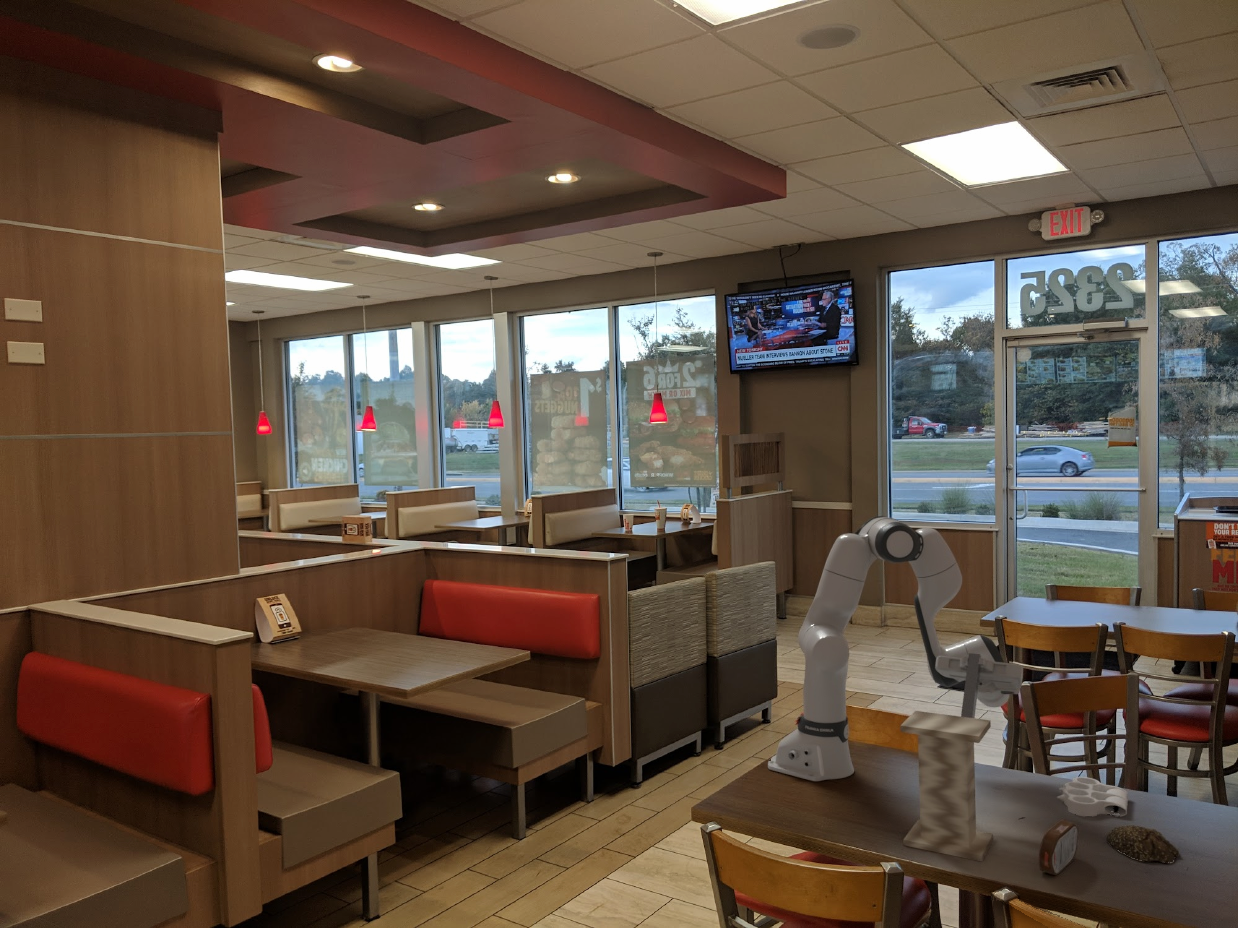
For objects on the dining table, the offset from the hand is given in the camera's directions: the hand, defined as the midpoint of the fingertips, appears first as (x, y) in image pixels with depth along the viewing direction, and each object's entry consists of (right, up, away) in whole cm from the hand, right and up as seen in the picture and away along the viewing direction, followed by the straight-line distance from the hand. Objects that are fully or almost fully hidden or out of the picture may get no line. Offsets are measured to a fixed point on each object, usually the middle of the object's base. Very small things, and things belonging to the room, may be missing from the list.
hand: (973, 660), depth 221 cm
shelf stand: (-14, -34, -23) cm, 44 cm away
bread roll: (+24, -34, -30) cm, 51 cm away
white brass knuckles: (+26, -33, -5) cm, 42 cm away
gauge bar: (-2, -10, -3) cm, 10 cm away
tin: (+4, -34, -36) cm, 50 cm away
